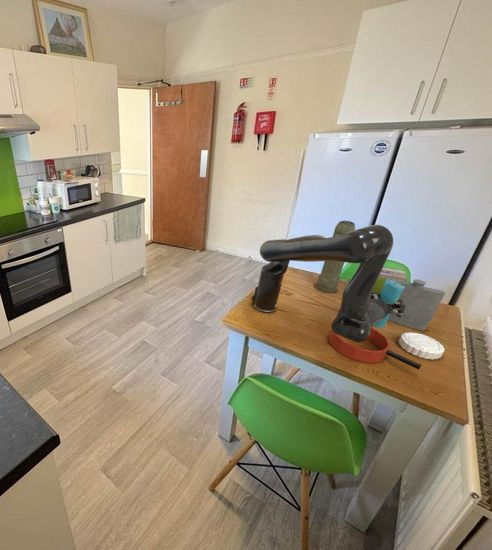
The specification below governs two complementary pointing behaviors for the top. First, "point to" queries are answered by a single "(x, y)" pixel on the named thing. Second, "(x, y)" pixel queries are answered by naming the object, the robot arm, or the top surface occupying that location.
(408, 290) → the hip flask
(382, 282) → the tea box
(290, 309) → the top surface
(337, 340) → the pan
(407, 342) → the mooncake
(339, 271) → the thermos
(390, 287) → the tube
